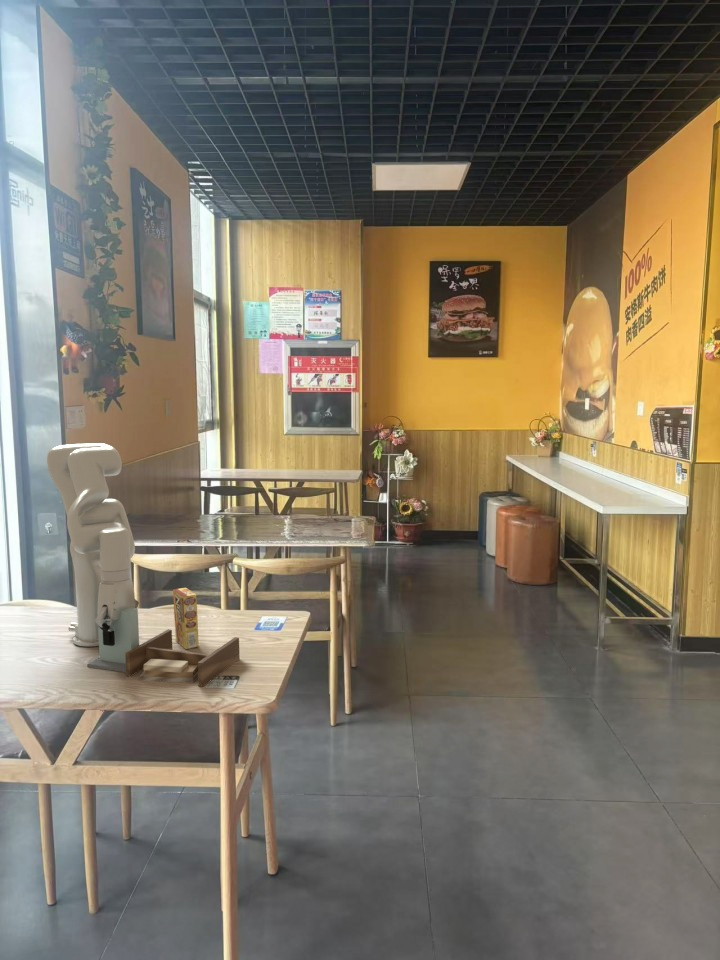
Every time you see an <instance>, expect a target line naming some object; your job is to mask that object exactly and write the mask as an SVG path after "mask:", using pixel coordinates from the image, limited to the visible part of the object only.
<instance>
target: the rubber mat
mask: <svg viewBox="0 0 720 960" xmlns="http://www.w3.org/2000/svg"><path fill="white" fill-rule="evenodd" d="M86 665H87V667H88V668H92V667H93V668H94V669H100V670H107V671H114V672H122V673H126V664H125V663H118V662H111V661H103V660H100V656H99V657H97V658H95V659H94V660H91V661H90V662H88V663H87V664H86Z"/></svg>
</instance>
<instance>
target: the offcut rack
mask: <svg viewBox="0 0 720 960" xmlns="http://www.w3.org/2000/svg"><path fill="white" fill-rule="evenodd" d="M125 658H126V672H125V674H126V677H132V676H133V675H135V674H137V673H138V672H140V671H142V670H144V667H143V665H144V664H145V663H146V662H148V661H149V660H150V659H163V660H178V661H188V665H198V678H197V686H198V687H201V688H202V687H204V686H206V685H207V684H209V681H210V680H211V681H212V680H214V679H215V678H216V676H217V677H218V676H219V675H221V674H223V672H225V671H226V670H228V669H229V668H230V667H231V666H233V665H234V664H235V663H237V662H238V661H239V660H240V659H241V658H240V638H239V637H236V636H235V637H233V638H232V639H230V640H229V641H228V642H226V643H224V644H222V645H221V646H219V648H217V649H216V650H214V651H213V652H211V653H210V654H208V653H201V652H200V653H199V652H191V651H184V650H177V649H173V630H172V629H166V630H164V631H162V632H161V633H159V634H157V635H155V636H154V637H152V638H150V639H148V640H147V641H144V642H142V643H141V644H139V646H137V647H135V648H134V649H132V650H130V651H128V652H126V653H125ZM236 661H237V662H236ZM232 664H233V665H232ZM224 670H225V671H224ZM220 673H221V674H220ZM214 677H215V678H214ZM213 678H214V679H213ZM211 681H210V682H211Z"/></svg>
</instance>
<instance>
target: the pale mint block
mask: <svg viewBox="0 0 720 960" xmlns="http://www.w3.org/2000/svg"><path fill="white" fill-rule="evenodd" d="M97 615H98V609H97ZM108 619H111V618H110V617H108ZM109 624H110V622H108V621H107V625H108V626H109ZM112 631H114V636H115V645H114V646H107V645H104V644H103V631H101V628H100V627H99V626H98V634H99V646H98V647H99V648H98V649H99V651H98V653H99V657H100V660H103V661H111V662H118V663H125V664H126V658H125V653H126V652H128V651H130V650H132V649H134V648H135V647H137V646H139V645H140V634H139V633H140V631H139V609H138V607H137V608H127V609H125V610H123V611H121V617H120V619H118V620H116V621H115V623H114V626H113V629H112Z"/></svg>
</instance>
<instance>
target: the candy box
mask: <svg viewBox="0 0 720 960" xmlns="http://www.w3.org/2000/svg"><path fill="white" fill-rule="evenodd" d="M172 592H173V593H172V594H173V595H172V597H173V615H174V631H175V632H174V633H175V642H177V643H178V644H179V645H181V647H182V648H184V649H185V650H188V649H193V648H198V647H199V623H198V600H197V599H198V598H197V594H196V593H195V592H194V591H192V590H190V589H189V588H187V587H182V588H176V589H172Z"/></svg>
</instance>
